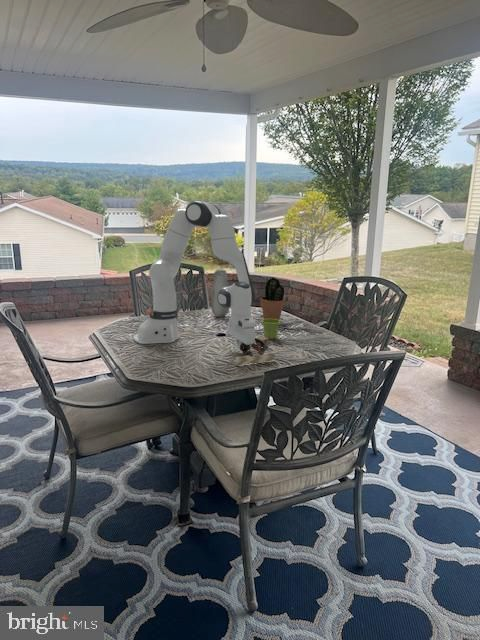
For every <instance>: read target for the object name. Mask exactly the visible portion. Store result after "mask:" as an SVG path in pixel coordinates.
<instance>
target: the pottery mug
mask: <svg viewBox="0 0 480 640" xmlns="http://www.w3.org/2000/svg"><path fill="white" fill-rule="evenodd" d="M257 338H258V337H255V341H254V343H253V344H251V345H246V344H244V343H242V344H241V345H240V349H239V350H240V351H241V352H242V354H243V353H244V354H243V355H247V352H249V351H250V350H251V348H252V349H253V350H255V351H256V352H257V354H259V352H263V353H265V351H266V350H265V349H266V347H265V344H264V343H263V342H262V341H261V340H260V339H257ZM256 343H260V344H261V347H263V348H260V347H259V346H257V345H256ZM248 350H249V351H248Z"/></svg>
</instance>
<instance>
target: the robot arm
mask: <svg viewBox="0 0 480 640" xmlns="http://www.w3.org/2000/svg"><path fill="white" fill-rule="evenodd" d="M196 227H200V228H206V229H208V230H209V233H210V234H209V235H210V239H211V240H210V241H211V242H210V243H211V249H212V251H213V252H212V253H213V254H214V255H215V257H217V258H218V259H219V260H222V261H224V262H227V263H229V264H231V265H232V266H233V267H234V269H235V272H236V274H237V279H238V281H235V282H234V283H232V284H231V285H229V287H224V288H221V289H220V290H219V292H218V296H217V299H218V303H219V304H220V306H221V307H223V308H229V309H231V312H230V318H229V319H228V324H227V333H228V334H229V335H231V336H232V337H233V338H235V341H236V348H238V350H240V345H241V344H242V343H244V344H246V345H250V346H251V344H253V343H255V338H256V337H255V336H256V328H255V327H257V322H256V321H255V319H254V318H253V316H252V310H251V307H252V305H253V303H254V302H255V300H256V297H257V296H256V295H257V294H256V291H255V287H254V286H253V283H252V280H251V275H250V273H249V268H248V264H247V260H246V257H245V255H244V253H243V252H242V250H240V248H239V246H238V244H237V239H236V237H237V236H236V232H235V227H234V224H233V220H232V218H231V216H229V215H227V214H222V212H221V211H220V209H219V207H218V206H216V205H214V204H211V203H210V202H207V201H201V200H200V201H199V200H194V201H192V202H190V203H188V204H187V206H186V208H179V209H177V210H176V212H175V213H174V215H173V217H172V218H171V220H170V222H169V224H168V228H167V230H166V233H165V236H164V237H163V240H162V243H161V248H160V252H159V255H158V259H157V260H155V261H154V262H153V263H152V264H151V266H150V268H149V271H148V274H149V278H150V284H151V289H152V295H153V297H152V298H153V299H152V301H153V308H152V310H150V309H147V310H146V313H147V314H148V315H149V317H148V318H147V319H146V320H145V321H143V322H142V323H141V324H140V325H139V326H138V331H137V333H136V334H134V335H133V340H134V342H136V343H138V344H140V345H149V344H150V345H151V344H167V343H169V344H170V343H173V342H175V341H177V340H179V339H180V338H181V336H180V331H179V327H178V318H179V317H178V314H179V313H178V309H177V292H176V286H175V278H176V276H177V275H178V274H179V273H178V272H179V269H180V266H181V264H182V261H183V257H184V255H185V251H186V249H187V247H188V245H189V242H190V239H191V236H192V234H193V232H194V229H195V228H196Z"/></svg>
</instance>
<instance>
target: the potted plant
mask: <svg viewBox="0 0 480 640" xmlns="http://www.w3.org/2000/svg"><path fill="white" fill-rule="evenodd" d="M264 291H265V293H264V296H262V297H260V308H261V310H262V317H263V319H277V320H280V319H281V314H282V312H283V308H284V307H285V306H284V305H285V298H284V295H285V288H284V287H283V285H282V284H280V280H278V279H277V278H276V277H271V278H269V279H268V280H267V282H266V284H265V290H264ZM280 321H281V320H280Z"/></svg>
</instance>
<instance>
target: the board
mask: <svg viewBox="0 0 480 640" xmlns="http://www.w3.org/2000/svg"><path fill="white" fill-rule="evenodd" d="M270 360H275V361H276V352H275V351H271V352H270V351H269V352H264V353H263V352H259V354H258V353H257V354H254V353H248V355H243V356H236V358H235V365H236V364H237V365H241V364H249V363H257V362H263V361H270Z"/></svg>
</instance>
